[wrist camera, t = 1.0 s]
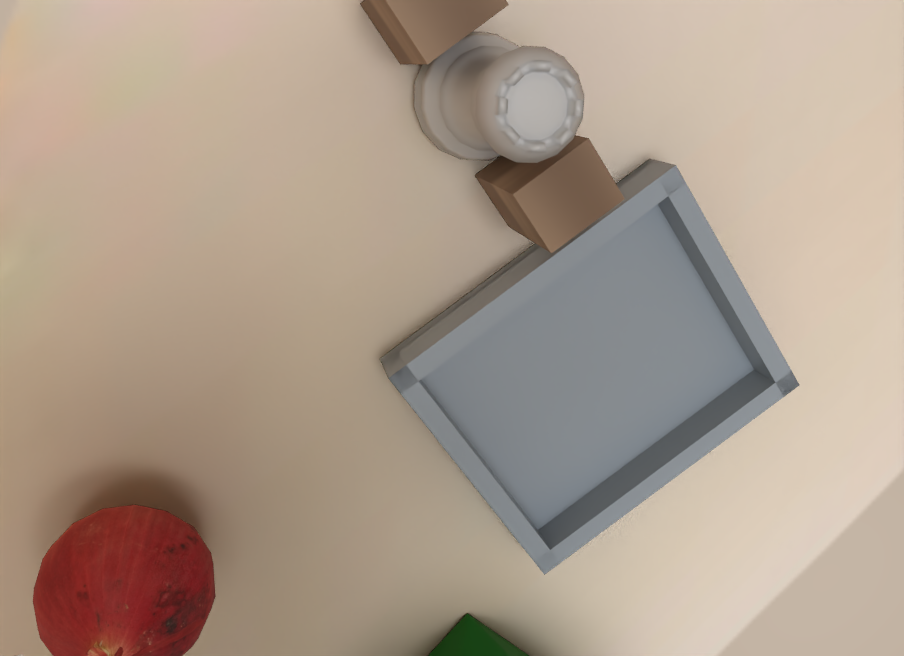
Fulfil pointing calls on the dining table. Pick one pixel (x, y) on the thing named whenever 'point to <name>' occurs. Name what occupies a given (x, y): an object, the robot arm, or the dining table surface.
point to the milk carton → (474, 641)
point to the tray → (594, 368)
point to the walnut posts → (506, 182)
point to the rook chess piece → (499, 100)
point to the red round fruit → (124, 585)
